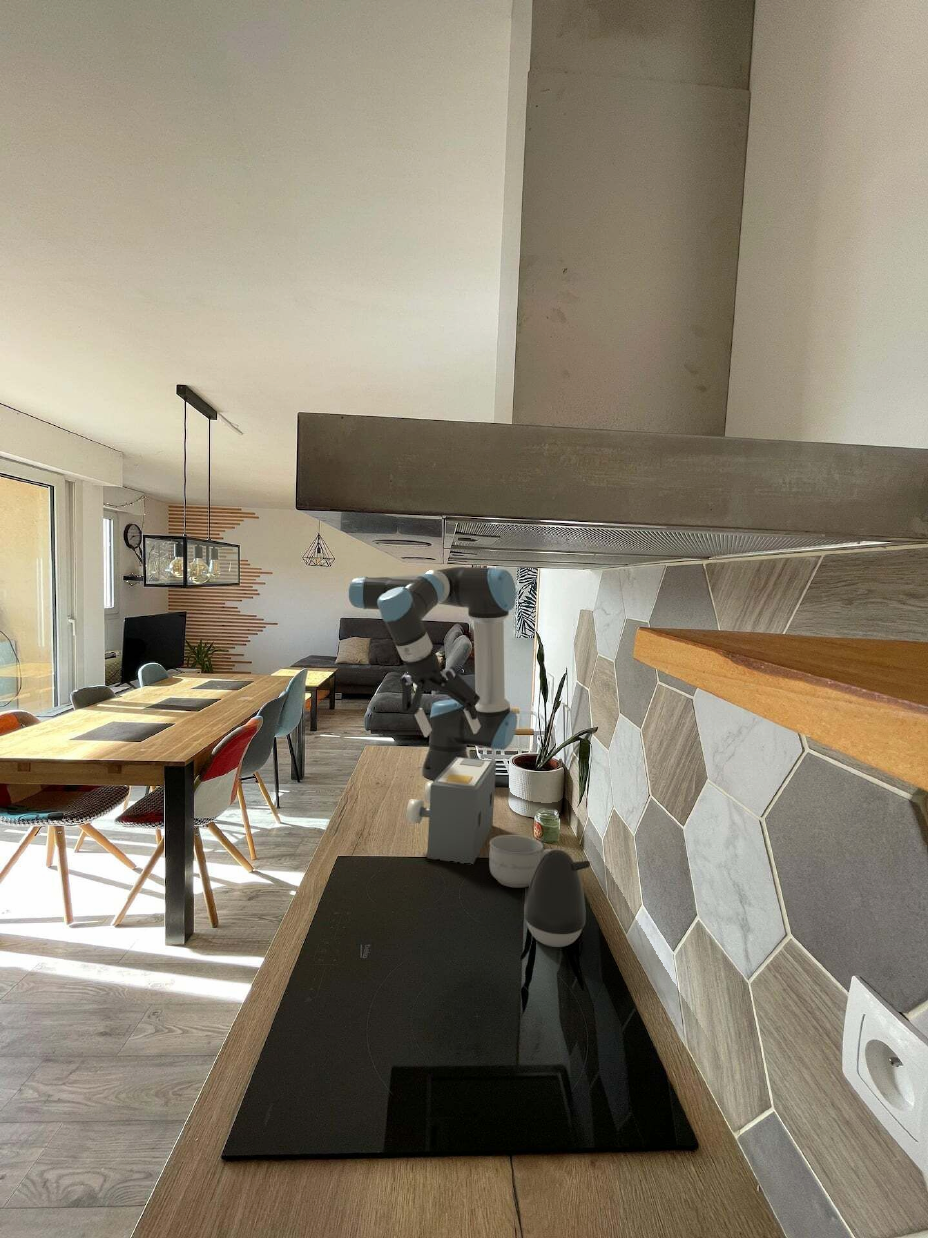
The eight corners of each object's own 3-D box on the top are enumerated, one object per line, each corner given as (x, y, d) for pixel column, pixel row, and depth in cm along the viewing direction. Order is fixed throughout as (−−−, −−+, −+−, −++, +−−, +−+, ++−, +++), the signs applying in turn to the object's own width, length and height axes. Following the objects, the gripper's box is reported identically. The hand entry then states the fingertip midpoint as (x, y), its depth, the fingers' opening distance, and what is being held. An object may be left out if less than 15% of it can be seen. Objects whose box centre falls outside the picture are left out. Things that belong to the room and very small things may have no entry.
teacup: (478, 884, 129) (480, 844, 128) (501, 865, 138) (503, 828, 138) (544, 903, 122) (547, 862, 122) (563, 882, 132) (566, 843, 131)
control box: (453, 820, 163) (456, 754, 162) (492, 825, 161) (496, 759, 160) (427, 858, 140) (431, 782, 139) (472, 864, 137) (477, 787, 137)
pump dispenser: (579, 962, 103) (585, 868, 103) (516, 946, 107) (521, 856, 106) (589, 931, 113) (595, 845, 112) (531, 918, 116) (536, 834, 116)
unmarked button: (429, 798, 161) (430, 778, 161) (458, 802, 160) (459, 782, 160) (423, 805, 157) (424, 784, 156) (454, 809, 155) (455, 788, 155)
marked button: (412, 817, 148) (413, 796, 148) (444, 822, 146) (445, 800, 146) (406, 825, 143) (407, 803, 143) (439, 829, 141) (440, 807, 141)
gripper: (366, 669, 149) (402, 744, 156) (458, 656, 136) (493, 738, 143) (382, 652, 155) (416, 725, 162) (472, 638, 142) (504, 718, 149)
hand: (452, 732), depth 153 cm, fingers open, 13 cm apart
